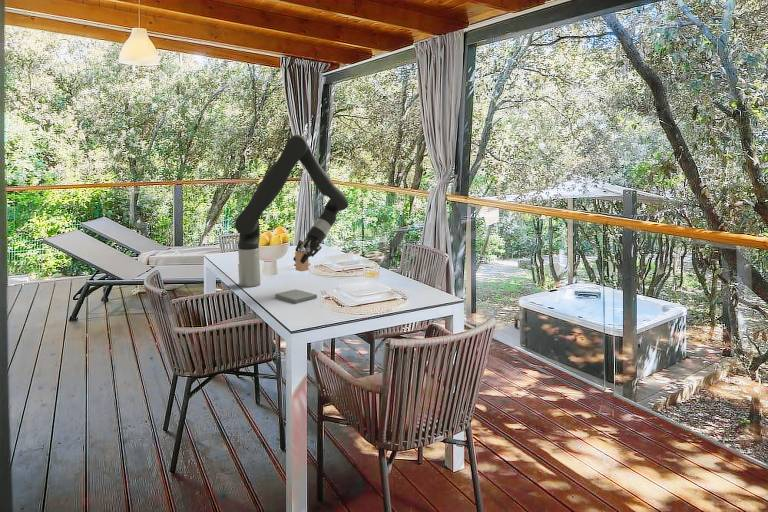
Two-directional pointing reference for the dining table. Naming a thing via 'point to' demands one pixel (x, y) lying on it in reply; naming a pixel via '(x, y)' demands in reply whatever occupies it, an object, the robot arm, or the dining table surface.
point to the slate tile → (296, 296)
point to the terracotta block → (298, 264)
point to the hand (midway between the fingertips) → (298, 261)
